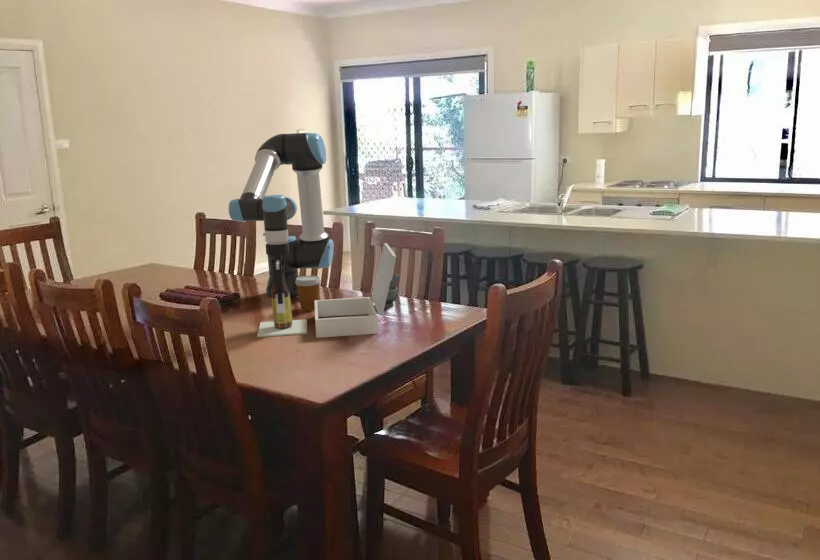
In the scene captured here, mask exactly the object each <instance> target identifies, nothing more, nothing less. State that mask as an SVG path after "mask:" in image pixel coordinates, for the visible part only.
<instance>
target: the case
mask: <svg viewBox="0 0 820 560" xmlns="http://www.w3.org/2000/svg"><path fill="white" fill-rule="evenodd" d="M314 302H315V311H314V320H315V338H319V339H320V338H332V337H346V336H348V337H349V336H361V335H378V334H379V325H378V312H377V310H376V309H375V308H376V307H375V305H374V302H373V299H372V297H371V296H367V297H366V296H365V297H351V298H349V297H346V298H334V299H332V298H331V299H319V300H314ZM354 315H355V316H354ZM339 316H340V317H339Z"/></svg>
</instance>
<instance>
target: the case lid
mask: <svg viewBox="0 0 820 560" xmlns="http://www.w3.org/2000/svg"><path fill="white" fill-rule="evenodd" d="M382 246H383V247H382V249H381V254H380V259H379V262H378V268H377V272H376V275H375V276H376V277H375V280H374V285H373V287H372V288H373V292H372V294H371V300H372V302H373V305H374V307H375V308H376V309H375V310H376V313H377V315H378V316H383V315H384V311H385V308H384V307H385V303H386V299H387V294H388V290H389V286H390V282H391V280H392V278H393V274H394V269H395V264H396V259H397V255H396V254H395V252H394V251H393V249H392V248H391V246H390V245H389V244H388V242H387V243H386V242H383V245H382Z"/></svg>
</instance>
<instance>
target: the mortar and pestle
mask: <svg viewBox="0 0 820 560" xmlns="http://www.w3.org/2000/svg"><path fill="white" fill-rule="evenodd" d="M399 279H401V275H400V274H397V273H392V277H391V282H390V286H389V290H388V294H387V299H386V303H385V307H384V309H391V308H394V307H395V306H394V305H395V304H394V302H395V301H396V300H397V297H398V295H399V288H398V286H397V284H398V282H399ZM373 288H374V287H372V288H371V291H372V293H373Z"/></svg>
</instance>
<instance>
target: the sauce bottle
mask: <svg viewBox="0 0 820 560" xmlns="http://www.w3.org/2000/svg"><path fill="white" fill-rule="evenodd" d="M272 273H273V270H272ZM284 273H285V271H284ZM284 273H283V291H284V298H285V313H277V305H276V294H274V292H275V275H274V273H273V279H274V283H273V286H272V288H271V295H272V297H270V298H271V307H272V309H271V310H272V317H273V319H272V320H273V321H274V326H275V327H276V328H288V327H291V326H292V320H293V313H292V304H291V302H292V300H291V297H290V291H289V289H288V287H287V284H286V282H285V276H284ZM278 290H281V289H278Z"/></svg>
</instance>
